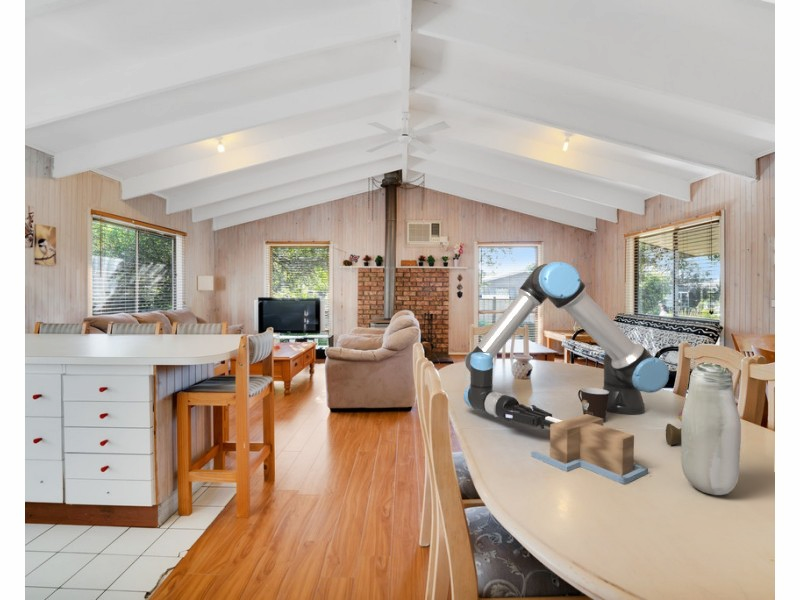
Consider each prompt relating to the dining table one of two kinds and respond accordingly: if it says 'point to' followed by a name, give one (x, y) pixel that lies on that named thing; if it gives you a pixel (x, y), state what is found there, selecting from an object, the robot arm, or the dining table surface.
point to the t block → (592, 444)
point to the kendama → (673, 435)
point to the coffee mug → (594, 401)
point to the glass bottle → (711, 431)
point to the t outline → (593, 468)
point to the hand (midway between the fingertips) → (566, 427)
